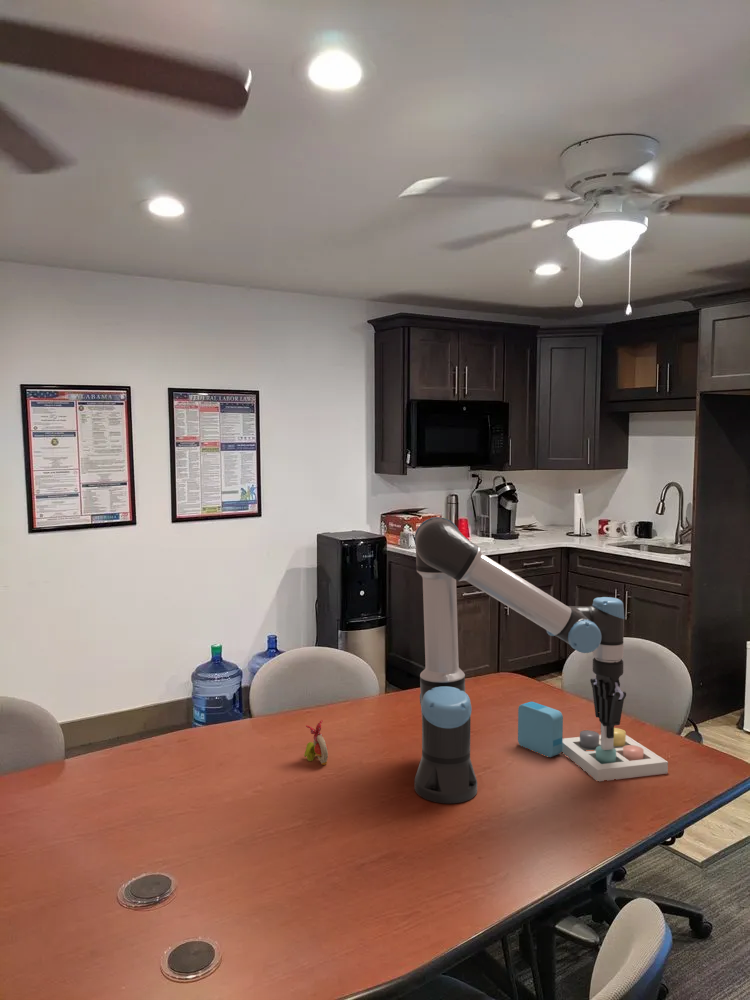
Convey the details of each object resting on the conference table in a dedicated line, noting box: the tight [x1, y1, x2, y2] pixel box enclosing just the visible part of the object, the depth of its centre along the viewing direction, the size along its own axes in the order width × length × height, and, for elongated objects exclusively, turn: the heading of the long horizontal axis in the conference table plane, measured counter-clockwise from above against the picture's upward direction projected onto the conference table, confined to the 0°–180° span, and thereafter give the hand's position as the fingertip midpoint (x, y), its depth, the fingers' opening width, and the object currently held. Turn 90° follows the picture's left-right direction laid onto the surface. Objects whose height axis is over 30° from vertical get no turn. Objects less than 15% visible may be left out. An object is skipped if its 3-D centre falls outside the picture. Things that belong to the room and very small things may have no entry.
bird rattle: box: [303, 719, 329, 766], centre depth 187 cm, size 6×11×9 cm
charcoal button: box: [579, 729, 600, 749], centre depth 191 cm, size 5×5×3 cm
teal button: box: [596, 746, 616, 764], centre depth 183 cm, size 5×5×3 cm
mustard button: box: [613, 727, 627, 746], centre depth 193 cm, size 5×5×3 cm
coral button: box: [623, 745, 644, 761], centre depth 185 cm, size 5×5×3 cm
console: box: [562, 734, 669, 782], centre depth 188 cm, size 20×20×3 cm
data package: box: [517, 701, 564, 758], centre depth 195 cm, size 12×4×12 cm, turn 38°
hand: (607, 748), depth 183 cm, fingers closed
